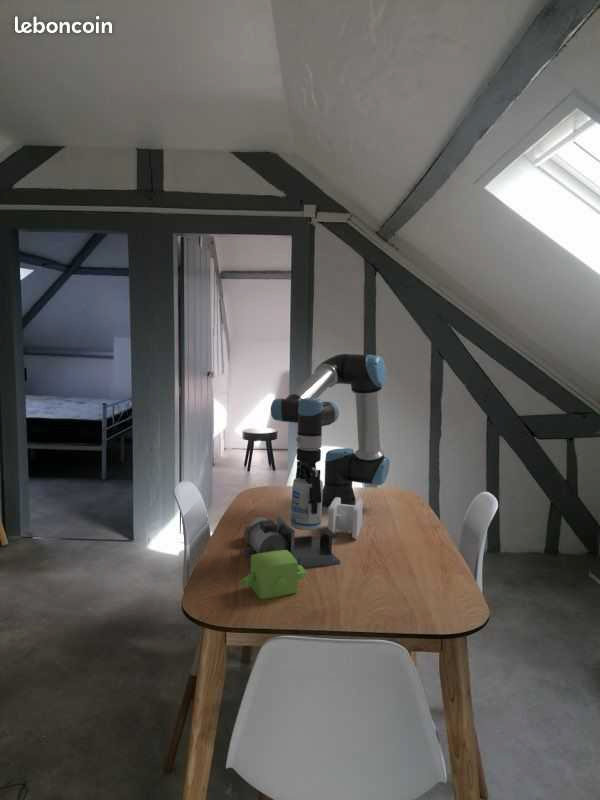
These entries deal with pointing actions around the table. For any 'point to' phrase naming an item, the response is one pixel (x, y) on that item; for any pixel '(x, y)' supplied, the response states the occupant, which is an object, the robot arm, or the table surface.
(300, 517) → the supplement tub
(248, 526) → the ceramic mug
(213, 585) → the table surface
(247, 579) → the gearbox
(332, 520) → the cable organizer
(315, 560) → the motor clip
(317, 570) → the table surface
